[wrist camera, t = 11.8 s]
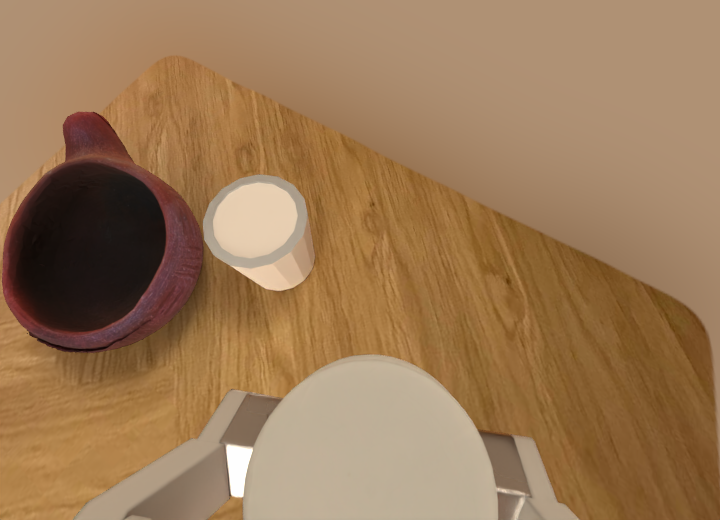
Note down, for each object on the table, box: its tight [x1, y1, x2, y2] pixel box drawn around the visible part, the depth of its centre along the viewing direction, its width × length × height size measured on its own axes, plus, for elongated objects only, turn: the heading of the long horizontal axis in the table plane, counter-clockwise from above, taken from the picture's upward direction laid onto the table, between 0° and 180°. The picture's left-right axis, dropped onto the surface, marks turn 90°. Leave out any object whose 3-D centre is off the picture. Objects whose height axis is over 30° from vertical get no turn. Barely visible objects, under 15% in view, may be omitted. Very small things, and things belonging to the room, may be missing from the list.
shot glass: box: [203, 174, 315, 291], centre depth 26 cm, size 7×7×7 cm
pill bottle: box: [243, 355, 498, 520], centre depth 9 cm, size 5×5×8 cm
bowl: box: [2, 112, 203, 353], centre depth 26 cm, size 16×13×8 cm
